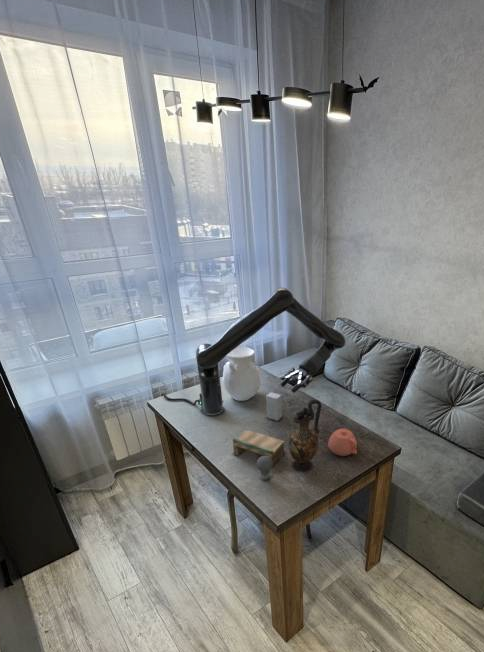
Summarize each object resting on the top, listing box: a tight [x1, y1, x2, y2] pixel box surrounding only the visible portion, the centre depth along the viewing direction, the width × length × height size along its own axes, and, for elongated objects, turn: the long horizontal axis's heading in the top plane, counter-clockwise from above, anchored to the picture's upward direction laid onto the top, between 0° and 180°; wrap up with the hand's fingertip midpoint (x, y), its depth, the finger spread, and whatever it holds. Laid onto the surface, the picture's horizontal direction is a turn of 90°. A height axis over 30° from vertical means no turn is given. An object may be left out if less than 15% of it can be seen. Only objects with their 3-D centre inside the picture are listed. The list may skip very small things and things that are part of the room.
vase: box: [287, 399, 322, 472], centre depth 151 cm, size 12×12×30 cm
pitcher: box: [222, 346, 261, 402], centre depth 198 cm, size 19×18×25 cm
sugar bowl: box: [327, 428, 358, 457], centre depth 166 cm, size 12×14×10 cm
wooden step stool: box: [232, 429, 285, 466], centre depth 163 cm, size 18×10×8 cm, turn 67°
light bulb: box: [256, 455, 274, 480], centre depth 149 cm, size 6×6×10 cm
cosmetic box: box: [265, 391, 283, 422], centre depth 186 cm, size 6×4×12 cm
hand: (286, 388), depth 176 cm, fingers open, 8 cm apart
